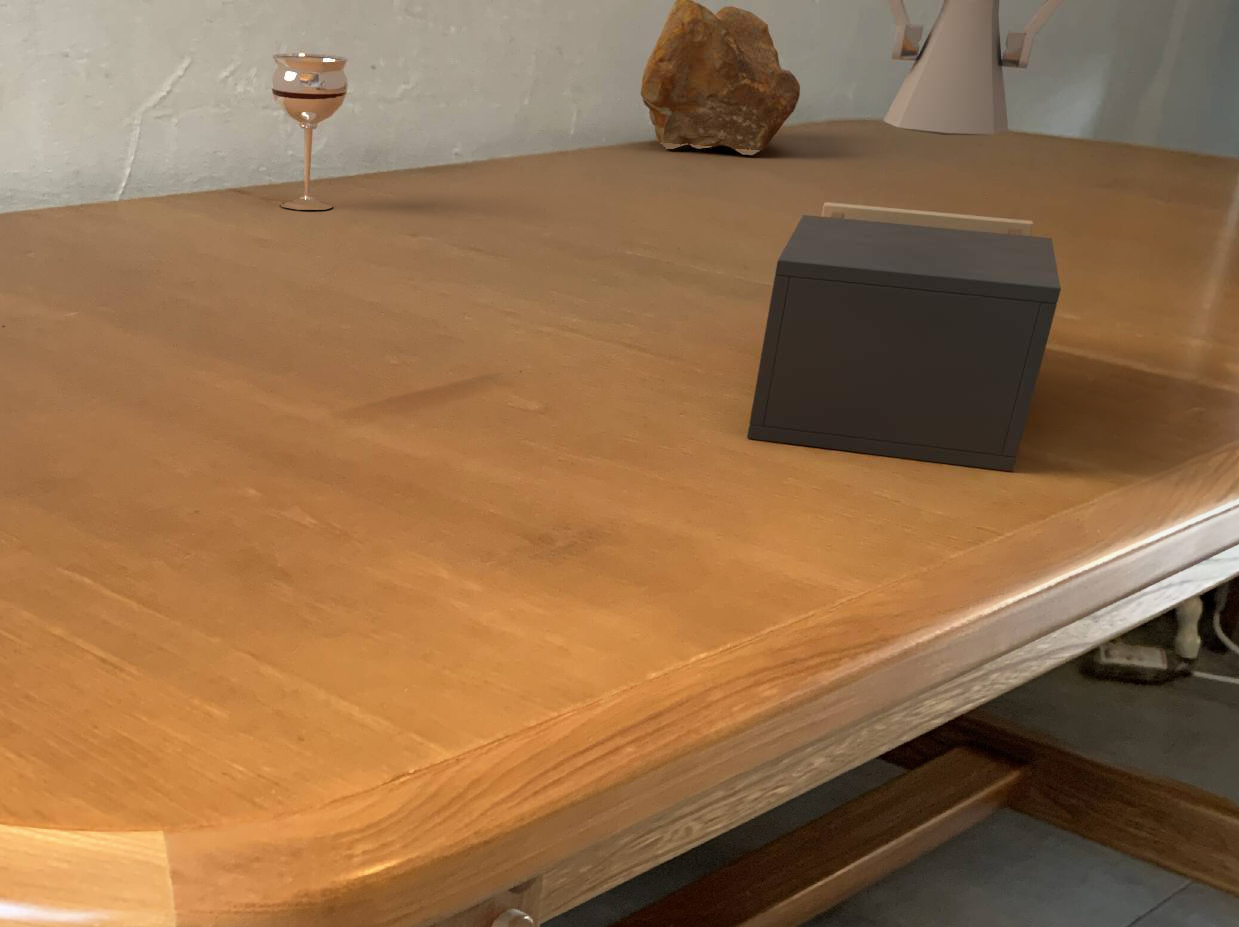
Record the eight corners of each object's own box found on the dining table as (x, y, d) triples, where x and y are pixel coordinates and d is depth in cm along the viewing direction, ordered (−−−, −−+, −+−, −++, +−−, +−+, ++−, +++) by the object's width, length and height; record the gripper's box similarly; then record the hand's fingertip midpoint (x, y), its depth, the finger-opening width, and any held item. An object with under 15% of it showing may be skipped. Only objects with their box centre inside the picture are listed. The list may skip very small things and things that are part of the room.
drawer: (808, 309, 122) (830, 191, 117) (1001, 329, 119) (1031, 209, 114) (782, 370, 106) (806, 237, 102) (1004, 395, 103) (1038, 259, 99)
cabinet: (774, 375, 109) (802, 214, 104) (1010, 402, 105) (1052, 237, 100) (746, 438, 96) (777, 259, 91) (1013, 471, 93) (1061, 287, 88)
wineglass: (358, 208, 154) (364, 59, 148) (306, 215, 150) (310, 63, 144) (305, 197, 158) (309, 51, 152) (253, 204, 154) (255, 54, 147)
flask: (1005, 128, 103) (1049, -64, 98) (1009, 142, 98) (1056, -60, 92) (883, 119, 105) (920, -70, 99) (880, 133, 99) (919, -67, 94)
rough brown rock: (744, 175, 186) (782, 21, 177) (610, 143, 192) (640, -7, 184) (816, 161, 202) (854, 20, 194) (690, 132, 209) (722, -6, 200)
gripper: (1217, -217, 92) (1141, 70, 99) (834, -228, 97) (789, 46, 104) (1231, -223, 87) (1149, 80, 94) (826, -235, 92) (779, 55, 99)
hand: (957, 62), depth 99 cm, fingers closed on flask, 5 cm apart
